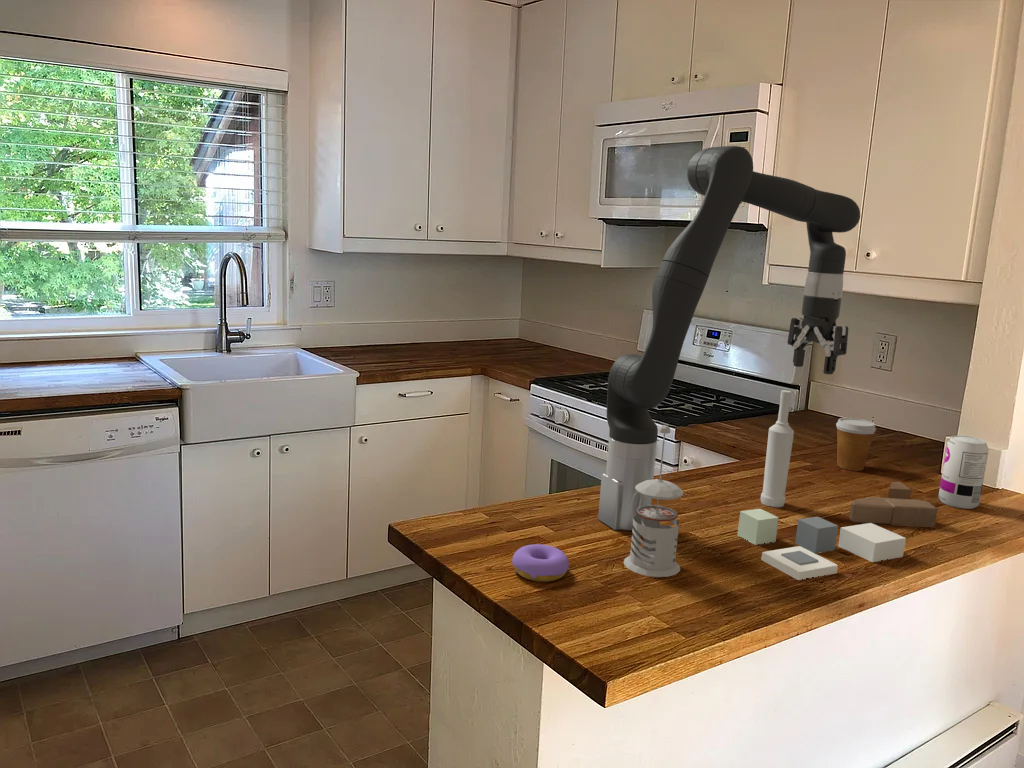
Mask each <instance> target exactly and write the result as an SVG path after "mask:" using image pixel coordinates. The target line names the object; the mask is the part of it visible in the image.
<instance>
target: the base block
mask: <svg viewBox="0 0 1024 768" xmlns="http://www.w3.org/2000/svg"><path fill="white" fill-rule="evenodd" d="M838 537H839V539H838V543H837V544H838V545H837V546H838V547H840V549H843V550H845V551H848V552H850V553H852V554H854V555H855V556H858V557H861V558H863V559H864V560H867V561H869V562H870V563H877V562H882V561H881V560H883V561H887V559H888V560H893V559H898V558H903V557H904V553H905V552H904V551H905V547H906V541H907V538H906V537H904V536H902V535H900V534H898V533H896V532H893V531H891V530H888V529H886V528H884V527H881V526H879V525H878V524H876V523H861V524H860V523H859V524H855V525H849V526H843V527H840V531H839V536H838Z"/></svg>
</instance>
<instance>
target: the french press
mask: <svg viewBox="0 0 1024 768" xmlns="http://www.w3.org/2000/svg"><path fill="white" fill-rule="evenodd" d="M658 433H661V434H663V439H662V449H661V450H662V451H661V456H660V457H661V458H660V469H659V470H660V471H659V479H658V478H655V479H654V478H653V480H646V481H644V482H641V483H639V484H638V485H636V487H635V489H636V490H637V492H636V493H635V494H634V496H633V498H632V505H631V514H632V520H633V529H632V530H631V531H632V535H631V542H630V546H631V547H630V552H629V553H630V554H629V555H628V556H627V557H626V558H624V560H623V565H624V566H625V568H627V569H628V570H630V571H631V572H633V573H636V574H639V575H642V576H646V577H653V578H664V577H665V578H667V577H671V576H676V575H677V574H678V573H679V572H681V565H679V563H678V562H677V561H676V557H677V546H678V537H679V529H680V527H679V526H680V525H679V524H680V523H679V522H680V521H678V519H677V518H678V516H679V514H678V512H677V511H676V510H675V509H672V508H671V507H667V506H663V505H659V501H660V500H662V501H663V500H664V501H671V500H672V501H673V500H677V499H679V498H682V496H683V495H684V491H683V490H682V489H681V487H679V486H678V485H677V484H676V483H673V482H671V481H668V480H664V479H662V471H663V460H664V459H663V458H664V451H665V439H666V434H667V435H668V434H670V433H671V428H670V427H669V426H668V425H665V424H664V425H661V426H660V427H659V428H658ZM638 492H639V493H640V494H641V498H640V503H639V507H638V508H637V509H636V513H637V515H635V516H634V519H633V500H634V497H635V495H636V494H637V493H638ZM643 495H644V496H646V497H643ZM648 497H650V498H652V499H653V500H656V504H651V505H643V506H641V499H642V498H643V499H644V498H648ZM642 517H643V518H645V525H644V523H643V521H642ZM641 522H642V525H641ZM662 522H663V523H664V522H665V523H666V522H669V523H671V524H672V525H674V527H673V526H671V525H669V524H660V523H662ZM641 537H642V538H643V539H641ZM641 545H642V546H641Z"/></svg>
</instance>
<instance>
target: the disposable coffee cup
mask: <svg viewBox="0 0 1024 768" xmlns="http://www.w3.org/2000/svg"><path fill="white" fill-rule="evenodd" d="M835 426H836V429H837V430H836V431H837V433H836V434H837V435H836V436H837V437H836V448H837V450H836V454H837V455H836V458H837V459H836V462H837V463H836V466H837V467H838V466H839V468H841V469H843V470H846V469H847V470H848V471H852V470H853V471H855V472H858V471H859V472H860V471H863V470H864V469H865V465H866V462H867V458H868V455H869V450H870V447H871V444H872V440H873V436H874V434H875V433H876V432H877V428H876V424H875V423H874V421H870V420H867V419H862V418H856V417H840V418H839V419H838V420H837V422H836V423H835ZM847 470H846V471H847Z"/></svg>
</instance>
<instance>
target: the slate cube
mask: <svg viewBox="0 0 1024 768" xmlns="http://www.w3.org/2000/svg"><path fill="white" fill-rule="evenodd" d="M796 527H797V528H796V534H795V535H796V536H795V541H794V542H795V543H794V545H796V544H797V545H796V546H798V545H799V546H801V547H803V548H805V549H807V550H809V551H811V552H814V553H817V554H820V553H819V552H823V553H827V552H826V551H829V552H834V551H833V550H836V542H837V537H838V531H839V530H838V528H839V525H838V524H835V523H833V522H831V521H829V520H827V519H824V518H822V517H820V516H813V517H812V516H811V517H806V518H798V520H797V526H796Z"/></svg>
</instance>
